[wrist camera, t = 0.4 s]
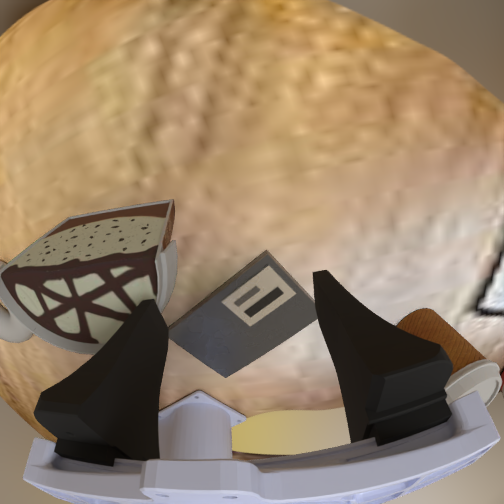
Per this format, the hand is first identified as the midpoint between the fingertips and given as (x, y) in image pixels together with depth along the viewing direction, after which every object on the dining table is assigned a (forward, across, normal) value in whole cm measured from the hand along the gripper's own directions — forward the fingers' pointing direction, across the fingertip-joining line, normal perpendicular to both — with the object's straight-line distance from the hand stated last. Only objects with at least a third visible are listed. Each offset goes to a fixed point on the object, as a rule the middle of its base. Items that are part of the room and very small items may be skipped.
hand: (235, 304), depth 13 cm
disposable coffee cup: (+10, -16, +17) cm, 26 cm away
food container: (+10, +9, +1) cm, 14 cm away
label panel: (+10, +1, +10) cm, 14 cm away
